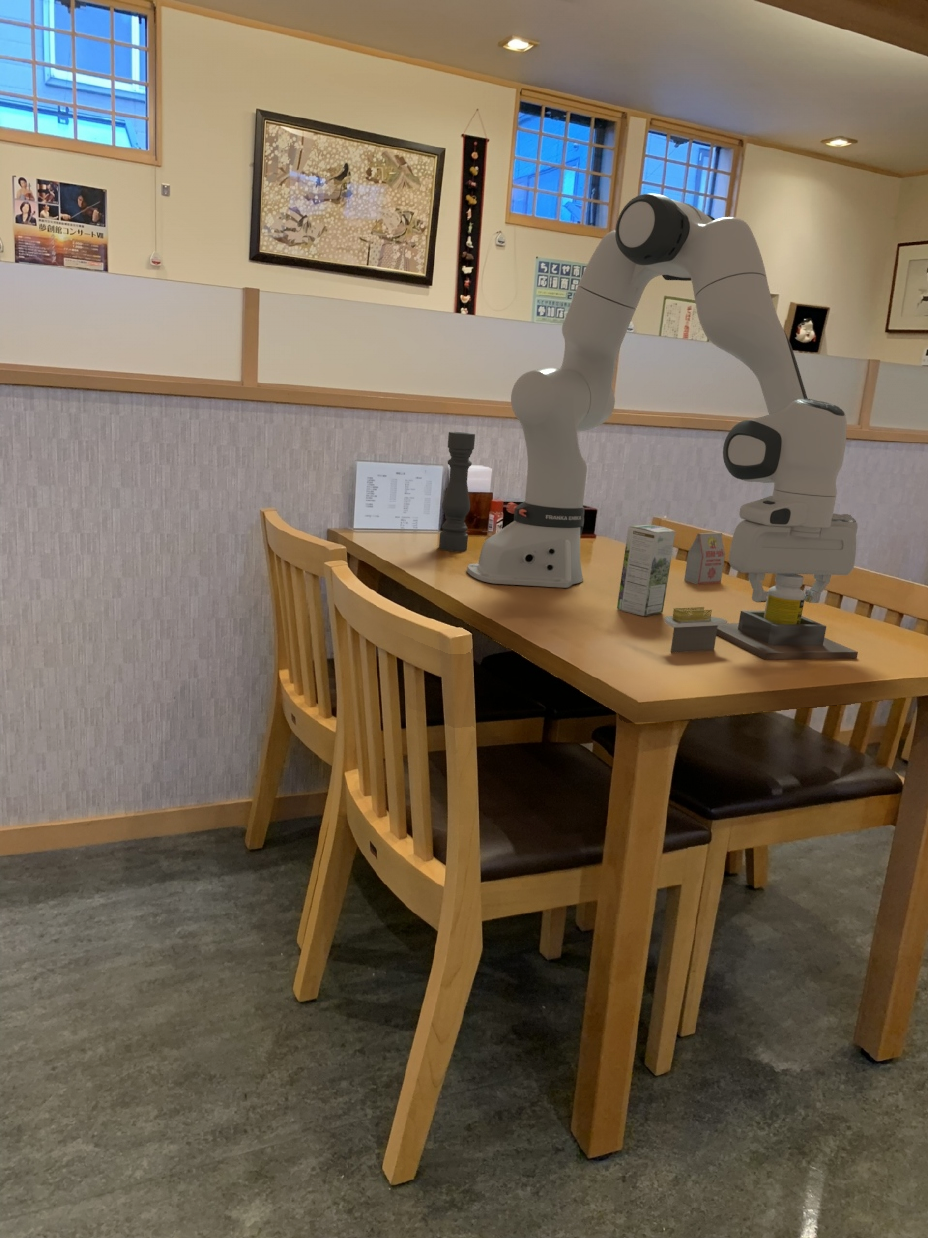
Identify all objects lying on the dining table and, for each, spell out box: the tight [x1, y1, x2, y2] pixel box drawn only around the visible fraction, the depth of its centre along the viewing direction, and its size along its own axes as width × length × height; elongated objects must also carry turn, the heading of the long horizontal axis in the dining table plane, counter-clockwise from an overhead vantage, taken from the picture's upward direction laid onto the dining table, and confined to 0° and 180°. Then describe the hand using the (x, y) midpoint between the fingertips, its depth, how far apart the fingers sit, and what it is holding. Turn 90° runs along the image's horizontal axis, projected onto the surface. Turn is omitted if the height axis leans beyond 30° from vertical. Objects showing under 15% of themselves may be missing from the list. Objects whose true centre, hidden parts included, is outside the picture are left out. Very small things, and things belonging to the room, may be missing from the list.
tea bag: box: [683, 532, 726, 585], centre depth 182 cm, size 4×7×10 cm, turn 122°
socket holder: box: [716, 610, 859, 660], centre depth 138 cm, size 16×16×4 cm
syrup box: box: [616, 524, 676, 617], centre depth 150 cm, size 6×6×14 cm
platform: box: [663, 606, 728, 654], centre depth 130 cm, size 12×18×7 cm, turn 116°
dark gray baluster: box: [438, 431, 476, 552], centre depth 193 cm, size 6×6×25 cm
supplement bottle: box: [764, 574, 806, 624], centre depth 137 cm, size 5×5×10 cm
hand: (785, 601), depth 137 cm, fingers open, 8 cm apart
